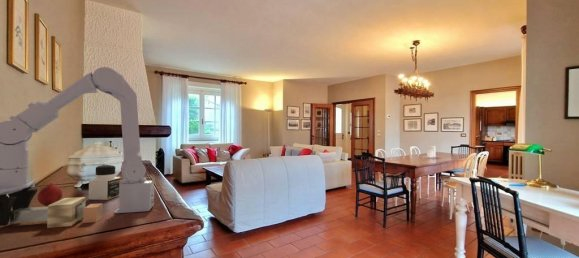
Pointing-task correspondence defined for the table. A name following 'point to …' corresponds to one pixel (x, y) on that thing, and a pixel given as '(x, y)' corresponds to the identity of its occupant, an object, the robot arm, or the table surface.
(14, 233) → the table surface
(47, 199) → the onion
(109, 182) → the medicine bottle
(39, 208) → the bar
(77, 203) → the bearing block
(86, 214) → the block
